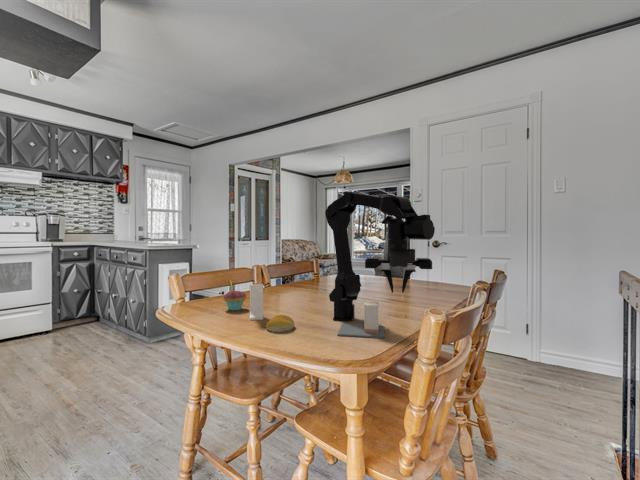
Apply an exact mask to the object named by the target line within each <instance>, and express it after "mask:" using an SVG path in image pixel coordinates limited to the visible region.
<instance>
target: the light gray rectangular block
mask: <svg viewBox="0 0 640 480" xmlns="http://www.w3.org/2000/svg"><path fill="white" fill-rule="evenodd" d="M249 320H250V321H256V320H257V321H259V320H261V321H262V320H264V284H263V283H262V284H261V283H259V284H258V283H257V284H249Z"/></svg>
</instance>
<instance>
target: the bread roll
mask: <svg viewBox="0 0 640 480" xmlns="http://www.w3.org/2000/svg"><path fill="white" fill-rule="evenodd" d="M294 327H295V321H294V319H293V317H291V316H289V315H287V314H278V315H275V316H273V317H272V318H271V319H270V320H269V321H267V323H266V325H265V328H266V330H268V331H269V332H273V333H284V332H290V331H291V330H292V331H293V329H294Z"/></svg>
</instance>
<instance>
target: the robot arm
mask: <svg viewBox="0 0 640 480" xmlns="http://www.w3.org/2000/svg"><path fill="white" fill-rule="evenodd" d="M357 206H363V207H366V208H373V209H375V210H378V211H380V212H381V213H383V214H385V215H386V217H385V218H384V219H383V220H381V224H382V225H387V259H379V258H380V257H378V256H377V257H371V256H370V257H367V258H366V259H365V261H364V268H365V269H377V268H378V267H380V272H383V273H384V274H385V276H386V278H387V281H388V284H389V285H388V286H389V287H390V290H391V294H393V293H394V283H393V274H392V269H391V267H392V268H396V267H402V268H403V274H402V283H401V293H402V294H404V293H405V290H406V286H407V283H408V281H409V279H410V277H411V275H412V273H415V272H417V271H416V268H417V267H418V268H419V269H420V270H433V261H432V259H431V258H428V257H416V249H415V248H409V243H408V242H409V240H414V241H415V240H417V241H418V240H428V241H429V240H432V239H433V238H434V236H435V235H434V234H435V229H436V228H435V226H434V225H435V224H434V222H433V220H432V219H431V215H430V214H421V215H418V213H417V212H416V211H415V209H414V208H413V206H412V202H411V199H410V198H408V197H406V196H398V195H385V196H384V195H383V196H377V195H371V194H366V193H365V194H364V193H360V192H358V191H351V190H350V191H347V192H345V193H344V194H343V195H342V196H341V197H339V198H337V199H335V200H334V201H332V202H331V203H330V204H329V205H328V206H327V208H326V209H325V213H324V214H325V218H326V221H327V224H328V226H329V228H331V230H332V234H333V242H334V250H335V251H334V252H335V259H336V264H337V265H336V266H337V273H336V277H335V279H334V287H333V290H332V291H331V292H330V293H329V294H328V297H329V302H333V317H332V320H333V321H348V322H349V321H350V322H351V321H353V319H354V318H355V314H356V313H355V311H356V309H355V308H356V307H355V303H354V301H356V300H357V299H358V297H359V294H360V292H361V287H362V284H361V276H360V274H356V273H355V272H354V269H353V263H352V256H351V255H352V254H351V249H350V242H349V241H350V239H349V233H348V227H349V225H350V223H351V215H352V214H353V213H354V212H355V210H356V208H357ZM394 217H395V218H394ZM404 220H405V221H404Z"/></svg>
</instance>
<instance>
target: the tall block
mask: <svg viewBox="0 0 640 480" xmlns="http://www.w3.org/2000/svg"><path fill="white" fill-rule="evenodd" d="M379 304H380V303H379V301H365V302H364V305H363V306H364V307H363V308H364V309H363V311H364V317H363V318H364V322H363V323H364V324H363V325H364V332H367V333H378V326H379Z"/></svg>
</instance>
